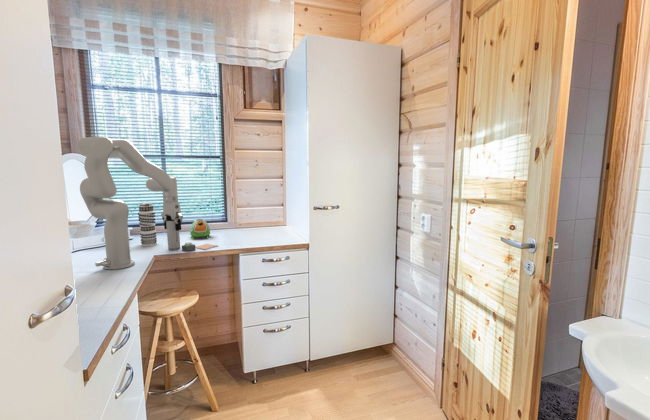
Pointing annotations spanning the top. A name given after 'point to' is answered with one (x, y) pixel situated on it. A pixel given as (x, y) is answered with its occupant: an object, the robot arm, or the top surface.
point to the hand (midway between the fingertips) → (172, 229)
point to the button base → (188, 248)
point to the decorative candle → (147, 224)
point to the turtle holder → (199, 228)
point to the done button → (188, 244)
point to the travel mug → (172, 234)
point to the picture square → (205, 246)
